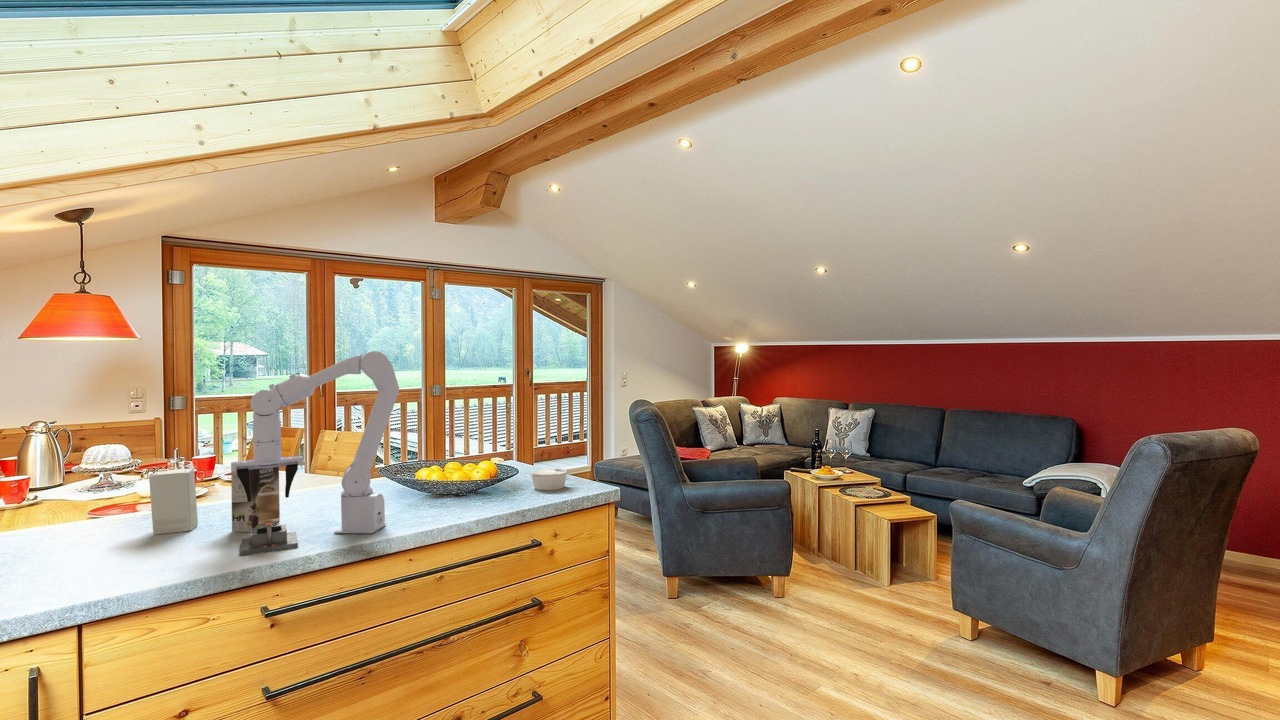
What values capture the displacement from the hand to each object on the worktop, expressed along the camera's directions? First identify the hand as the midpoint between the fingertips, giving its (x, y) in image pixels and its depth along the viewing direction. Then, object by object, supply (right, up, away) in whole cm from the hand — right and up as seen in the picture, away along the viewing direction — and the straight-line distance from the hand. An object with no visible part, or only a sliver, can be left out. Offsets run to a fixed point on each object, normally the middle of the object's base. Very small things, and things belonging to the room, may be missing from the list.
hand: (268, 498), depth 152 cm
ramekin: (+58, -8, +54) cm, 80 cm away
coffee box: (-9, -10, +11) cm, 17 cm away
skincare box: (-28, -10, +9) cm, 31 cm away
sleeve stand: (+3, -9, -5) cm, 11 cm away
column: (+3, -4, -5) cm, 7 cm away
